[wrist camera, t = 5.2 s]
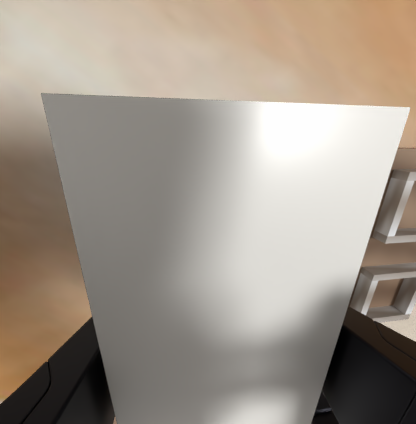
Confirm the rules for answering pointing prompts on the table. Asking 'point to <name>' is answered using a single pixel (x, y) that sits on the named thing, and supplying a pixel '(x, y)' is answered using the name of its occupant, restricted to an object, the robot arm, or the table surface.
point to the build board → (391, 248)
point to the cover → (219, 245)
